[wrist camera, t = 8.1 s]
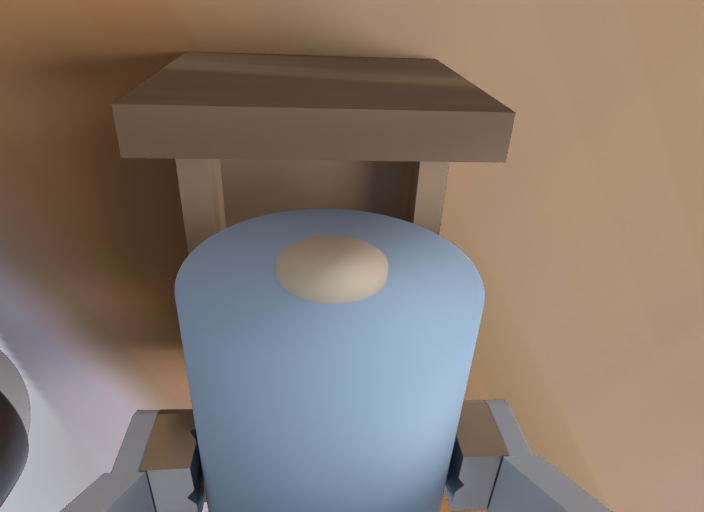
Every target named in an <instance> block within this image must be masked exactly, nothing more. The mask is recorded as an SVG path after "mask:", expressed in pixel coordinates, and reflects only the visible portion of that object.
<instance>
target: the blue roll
mask: <svg viewBox="0 0 704 512" xmlns="http://www.w3.org/2000/svg"><path fill="white" fill-rule="evenodd" d="M484 298H485V291H484V286H483V281H482V279H481V277H480V274H479V272H478V270H477V269H476V267H475V266H474V264H473V263H472V261H471V260H470V259H469V258H468V257H467V256H466V255H465V254H464V253H463V252H462V251H461V250H460V249H458V248H457V247H456V246H455V245H454V244H452V243H451V242H449V241H448V240H446V239H444V238H443V237H441V236H439V235H438V234H436V233H434V232H432V231H430V230H428V229H425V228H423V227H421V226H418V225H416V224H413V223H410V222H407V221H404V220H401V219H397V218H394V217H390V216H386V215H381V214H376V213H371V212H364V211H357V210H346V209H303V210H292V211H285V212H278V213H273V214H268V215H264V216H260V217H256V218H252V219H249V220H246V221H243V222H240V223H237V224H235V225H233V226H230V227H228V228H226V229H223V230H222V231H220V232H218V233H216V234H214V235H213V236H211V237H209V238H208V239H207V240H205V241H204V242H202V243H201V244H200V245H199V246H198V247H196V248H195V249H194V250H193V251H192V252H191V253H190V254H189V256H188V257H187V258H186V259H185V260H184V262H183V264H182V266H181V267H180V269H179V271H178V274H177V277H176V281H175V300H176V307H177V313H178V320H179V326H180V332H181V339H182V345H183V351H184V358H185V364H186V371H187V377H188V383H189V390H190V396H191V402H192V409H193V415H194V422H195V428H196V434H197V441H198V447H199V453H200V460H201V466H202V473H203V479H204V485H205V492H206V498H207V504H208V511H209V512H440V507H441V502H442V498H443V493H444V488H445V484H446V479H447V474H448V470H449V465H450V461H451V456H452V451H453V447H454V442H455V437H456V433H457V428H458V423H459V419H460V414H461V409H462V405H463V400H464V395H465V391H466V386H467V382H468V377H469V372H470V368H471V363H472V358H473V354H474V349H475V344H476V340H477V335H478V330H479V326H480V321H481V316H482V312H483V307H484Z"/></svg>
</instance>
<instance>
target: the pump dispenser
mask: <svg viewBox="0 0 704 512" xmlns="http://www.w3.org/2000/svg"><path fill="white" fill-rule="evenodd" d="M29 427H30V402H29V396H28V392H27V389H26V386H25V384H24V381H23V379H22V377H21V375H20V373H19V372H18V370H17V368H16V367H15V366H14V364H13V363H12V362H11V360H10V359H9V358H8V357H7V356H6V355H5V354H4V353H3V352H2V351H1V350H0V507H1V506H2V504H3V503H4V501H5V500H6V498H7V497H8V495H9V494H10V492H11V490H12V489H13V487H14V486H15V484H16V482H17V481H18V479H19V477H20V475H21V473H22V471H23V469H24V467H25V464H26V461H27V457H28V450H29V449H28V447H29V445H28V433H29Z"/></svg>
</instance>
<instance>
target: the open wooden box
mask: <svg viewBox="0 0 704 512" xmlns="http://www.w3.org/2000/svg"><path fill="white" fill-rule="evenodd" d="M111 107H112V113H113V118H114V123H115V128H116V133H117V139H118V144H119V149H120V154H121V158H166V159H175V161H176V168H177V176H178V183H179V190H180V198H181V205H182V212H183V220H184V227H185V234H186V242H187V249H188V256H189V254H190V253H191V252H192V251H193V250H194V249H195V248H196V247H198V246H199V245H200V244H201V243H202V242H204V241H205V240H207V239H208V238H209V237H211V236H213V235H214V234H216V233H218V232H220V231H222V230H223V229H226V228H228V227H230V226H233V225H235V224H237V223H240V222H243V221H246V220H249V219H252V218H256V217H260V216H264V215H268V214H273V213H278V212H285V211H292V210H303V209H346V210H357V211H364V212H371V213H376V214H381V215H386V216H390V217H394V218H397V219H401V220H404V221H407V222H410V223H413V224H416V225H418V226H421V227H423V228H425V229H428V230H430V231H432V232H434V233H436V234H438V235H439V232H440V225H441V218H442V211H443V203H444V196H445V189H446V182H447V175H448V168H449V162H506V158H507V153H508V148H509V143H510V138H511V133H512V128H513V123H514V117H515V112H514V111H512V110H511V109H509V108H508V107H506V106H505V105H503V104H502V103H500V102H499V101H497V100H496V99H494V98H493V97H491V96H490V95H489V94H487V93H486V92H484V91H483V90H481V89H480V88H478V87H477V86H475V85H474V84H472V83H471V82H469V81H468V80H466V79H465V78H463V77H462V76H460V75H459V74H457V73H456V72H454V71H453V70H451V69H450V68H448V67H447V66H445V65H444V64H442V63H441V62H439V61H438V60H436V59H405V58H373V57H341V56H308V55H276V54H244V53H211V52H185V53H184V54H182V55H181V56H179V57H178V58H176V59H175V60H174V61H172V62H171V63H169V64H168V65H166V66H165V67H163V68H162V69H161V70H159V71H158V72H156V73H155V74H153V75H152V76H150V77H149V78H148V79H146V80H145V81H143V82H142V83H140V84H139V85H138V86H136V87H135V88H133V89H132V90H130V91H129V92H127V93H126V94H125V95H123V96H122V97H120V98H119V99H117V100H116V101H114V102H113V103H112V104H111ZM203 484H204V482H203ZM204 491H205V485H204ZM204 502H207V498H206V492H205V499H204Z"/></svg>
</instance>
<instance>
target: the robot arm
mask: <svg viewBox="0 0 704 512" xmlns="http://www.w3.org/2000/svg"><path fill="white" fill-rule="evenodd" d="M203 482H204V479H203V473H202V466H201V460H200V453H199V447H198V441H197V434H196V428H195V422H194V415H193V409H167V410H137V411H136V412H135V414H134V415H133V416H132V419H131V422H130V424H129V427H128V429H127V432H126V435H125V437H124V440H123V443H122V445H121V448H120V450H119V453H118V456H117V458H116V461H115V463H114V466H113V469H112V471H111V473H104V474H103V475H101V476H100V477H99V478H98V479H97V480H96V481H95V482H93V483H92V484H91V485H90V486H89V487H88V488H86V489H85V490H84V491H83V492H82V493H81V494H80V495H79V496H77V497H76V498H75V499H74V500H73V501H72V502H70V503H69V504H68V505H67V506H66V507H65V508H64V509H62V510H61V511H60V512H202V509H203V504H204V499H205V491H204V484H203ZM445 490H446V494H447V498H448V501H449V505H450V508H451V511H462V510H488V512H612V511H610V510H609V509H608V508H607V507H605V506H604V505H603V504H601V503H600V502H599V501H598V500H596V499H595V498H594V497H592V496H591V495H590V494H589V493H587V492H586V491H585V490H583V489H582V488H581V487H580V486H578V485H577V484H576V483H574V482H573V481H572V480H571V479H569V478H568V477H567V476H565V475H564V474H563V473H562V472H560V471H559V470H558V469H556V468H555V467H554V466H553V465H551V464H550V463H549V462H547V461H546V460H545V459H544V458H542V457H541V456H540V455H533V454H532V452H531V450H530V448H529V446H528V443H527V441H526V439H525V437H524V435H523V433H522V431H521V429H520V427H519V425H518V423H517V420H516V418H515V416H514V414H513V412H512V410H511V408H510V406H509V404H508V402H507V401H506V400H505V399H494V400H466V401H463V405H462V409H461V414H460V419H459V423H458V428H457V433H456V437H455V442H454V447H453V451H452V456H451V461H450V465H449V470H448V474H447V479H446V484H445Z"/></svg>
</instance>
